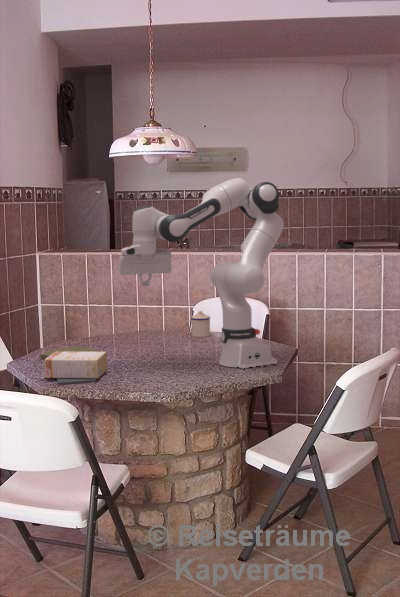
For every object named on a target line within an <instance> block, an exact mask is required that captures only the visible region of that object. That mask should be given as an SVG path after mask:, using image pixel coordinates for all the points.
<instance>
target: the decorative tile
mask: <svg viewBox="0 0 400 597" xmlns="http://www.w3.org/2000/svg"><path fill="white" fill-rule="evenodd" d="M56 351H59V352H102V350H93V349H91V348H88V347H87V346H79V345H76V346H75V345H72V346H66V347H58V348H55V349H51V350H46V351H45V352H40V356H39V357H40V358H41V359H40V360H44V359H46V358H47V357H49V356H50V355H52V354H53V353H55V352H56Z"/></svg>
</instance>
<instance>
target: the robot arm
mask: <svg viewBox="0 0 400 597" xmlns="http://www.w3.org/2000/svg"><path fill="white" fill-rule="evenodd" d="M279 202H280V193H279V188H277V186H276V185H275V184H274V183H272V182H269V181H263V182H260V183H257V184H256V185H255V186H254V188H253V187H251V186H250V185H249V183H248V182H247V180H245V179H244V178H242V177H235V178H231V179H228V180H226V181H223V182H221V183H218V184H217V185H215V186H213V187H211V188H210V189H208V190H207V191H206V192H205V193H203V195H202V198H201V203H199V204H198V205H197V206H195V207H193V208H191V209H189V210H188V211H186V212H184V213H181V214H167V213H165V212H162V211H160V210H158V209H156V208H155V207H154V206H153V205H144V206H140V207H137V208H135V209H134V211H133V214H132V222H131V223H132V226H131V228H132V234H133V238H132V245H129V246H126V247H122V248H121V249H120V253H121V255H120V257H119V258H118V264H117V266H118V268H117V272H118V274H119V275H123V276H124V275H125V276H126V275H137V278H138V279H139V280H140V284H141V287H148V286H150V282H151V280H152V278H153V274H170V273H171V272H172V262H171V260H172V258H173V257H172V252H171V250H170V249H168V248H157V239H160V240H164V241H167V242H170V243H177V242H180V241H182V240H183V239H184V238H185V237H186V236H187V235H188V233H189V232H190V231H191V230H192V229H194V228H195V227H197V226H198V225H201V224H202V223H205V221H207V220H209V219H211V218H214V217H218V216H221V215H223V214H226V213H228V212H230V211H231V210H234V209H236V208H237V207H239V209H240V210H241V211H242V212H243V213H244V215H245V217H247V218H248V219H250V220H252V221H255V223H254V225H253V226H252V227H251V229H250V231H249V232H248V234H247V235H246V237H245V238H244V240H243V241H242V243H241V245H240V251H241V256H240V259H239V260H238V261H237V263H235V262H222V263H218V264H216V265H215V266H214V267H213V268H212V270H211V272H210V280H211V284H213V286H214V287H215V288H216V290H217V293H218V297H219V300H220V303H221V304H220V305H221V310H222V327H221V342H222V345H221V353H220V359H219V362H218V364H219V365H221V366H223V367H227V368H228V367H229V368H237V367H239V368H238V369H244V368H245V369H250V368H249V367H253V368H257V367H256V366H261V367H264V366H263V365H269V366H271V365H270V364H276V365H278V359H276V358H275V357H273V356H272V350H271V349H270V347H269V344H268V345H267V344H266V343H265V342H263V341H262V340H261V339H260V338H259V337H257V335H258V336H259V335H260V333H261V330H260V329H259V328H254V327H252V326H253V325H252V323H253V322H252V307H251V305H250V303H249V302H248V300H247V299H246V297H245V294H254V293H258V292H260V290H261V289H262V288H263V286H264V284H265V274H264V272H263V270H264V266H265V264H266V263H265V262H266V261H267V258H268V257H269V256H270V254H271V253H272V250H273V249H274V247H275V246H276V244H277V242H278V240H279V238H280V237H281V234H282V232H283V229H284V227H285V226H284V225H285V224H284V219H283V218H282V217H281V216H280V215H279V214H278V213H277V211H278V210H279V204H280V203H279ZM144 275H147V277H148V278H147V279H146V280H143V276H144Z"/></svg>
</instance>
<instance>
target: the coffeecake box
mask: <svg viewBox="0 0 400 597" xmlns="http://www.w3.org/2000/svg"><path fill="white" fill-rule="evenodd" d="M107 352H108V351H101V352H59V351H56V352H55V353H53V354H52V355H50V356H49V357H47V358H46V359H45V360H44V359H43V360H44V361H43V364H44V365H43V367H44V378H45V379H56V378H95V379H99V378H100V377H101V376H102V375H103V374H105V372H107V370H108V354H107Z"/></svg>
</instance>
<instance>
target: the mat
mask: <svg viewBox="0 0 400 597" xmlns="http://www.w3.org/2000/svg"><path fill="white" fill-rule="evenodd" d="M56 379H57V380H56ZM55 380H56V383H57V382H58V383H57V385H58V386H62V385H61V384H65V385H74V384H89V383H96V378H55ZM59 384H60V385H59Z"/></svg>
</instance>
